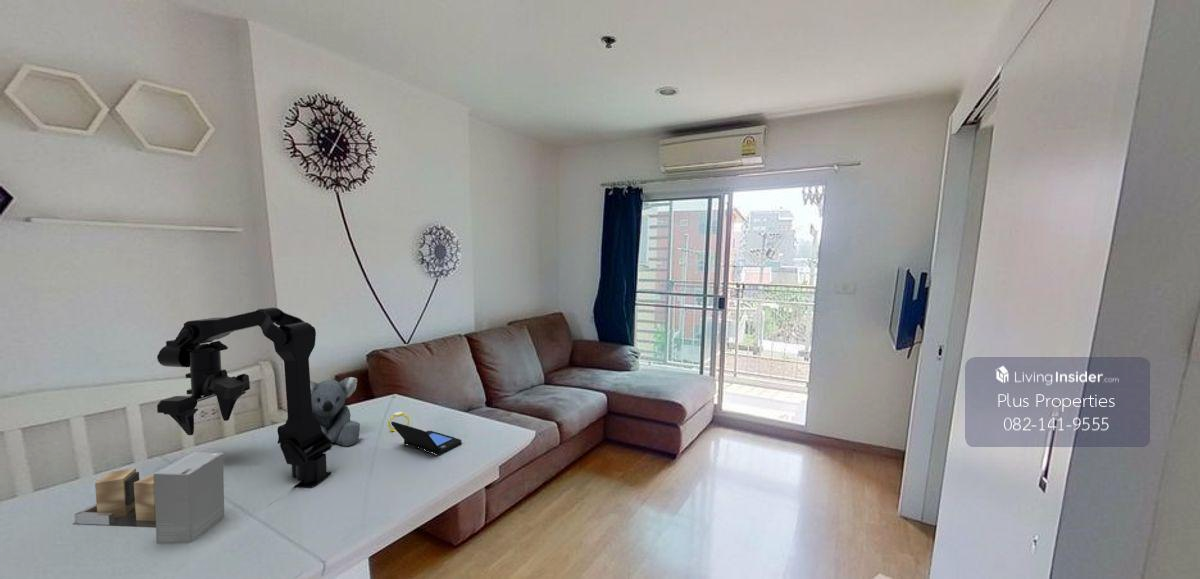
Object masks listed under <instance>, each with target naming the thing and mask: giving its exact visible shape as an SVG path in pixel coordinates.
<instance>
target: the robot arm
mask: <svg viewBox="0 0 1200 579" xmlns="http://www.w3.org/2000/svg"><path fill="white" fill-rule="evenodd" d="M254 327H259V328H260V329H261V332H262V334H263V336H264V337H265V338H267V339H268V340H270V341H271V342H273V346H274V351H275V353H276V354H277V355H278V356H279V357H280V359H281V360H283V367H284V368H283V369H284V381H285V382H284V383H285V384H284V385H285V396H286V410H287V419H286V422H284V423H283V424H281V425H279V426H278V427H277V430H276V432H277V436H278V440H277V444H279V446H280V447H279V448H280V449H281V451H282V454H283V456H284V460H285V461H286V464H287V465H291V477H292V478H293V479H296V480H297V481H300V482H297V484H295V485H294V487H295V488H296V487H298V488H314V487H316V486H318V485H319V484H320V483H321V482H323V481H324V480H326V479H327V478H328V477H330V476H331V475H332V472H331V471H327V454H326V452H328V451H331V450H332V447H333V444H334V442H332V441H331V440H330V439H329V438H328V437H327V436H326V435H325V434H324V433H323V432H322V430H321V425H320V421H319V420H318V419H317V418H316V417H315V416H314V415H313V413H312V402H311V386H310V381H311V373H310V371H311V370H310V357H311V353H312V352H313V350H314V348H315V346H316V339H317V338H316V336H317V333H316V328H315V326H312V324H310V323H309V322H306V321H304V320H302V319H301V318H299V317H297V316H294V315H291V314H289V313H286V312H284V311H282V310H281V309H280V308H276V307H267V308H258V309H256V310H253V311H249V312H245V313H240V314H236V315H231V316H228V317H209V318H201V319H194V320H188V321H186V322H184V323H183V327H182V328H181V329H180V331H179V333H178V335H177V336H176V338H175V339H172V340H166V341H165V344H166V345H165V346H163V347H162V348H161V349H160V350H159V352H158V354H157V361H158V363H159V364H160V365H161V366H163V367H172V368H189V371H190V372H189V373H185V379H190V388H189V389H187V390H186V395H175V396H171V397H168V398H165V399H162V400H160V401H159V402H158V403H157V405H156V410H157V412H156V413H158V414H163V415H169V417H171V418H172V419H173V420H174V421H175V422H176V423H177V424H178V425H179V427H180V428H181V429H182V430H183V432H184V433H185V434H186V435H187V436H193V435H194V434H195V414H196V413H197V412H198V410H199V408H196V407H197V405H198V402H201V401H205V400H207V399H210V398H214V397H216V399H217V403H218V407H219V410H220V414H221V418H222V420H223V421H226V422H228V421H229V420H230V417H231V415H232V414H233V413H232V412H233V410H234V407H235V404H236V402H237V400H239V398H241V397H242V395H246V393H247V391H249V390H251V382H250V376H249V375H248V374H247V373H241V374H238V375H237V376H229V375H228V372H227V369H222V358H221V357H222V356H221V355H222V354H221V351H226V350H228V349H229V347H228V345H226V344H224V343H223V342H221V341H220V339H223V338H225V337H227V336H230V334H231V333H234V332H236V331H241V330H247V329H251V328H254ZM189 395H190V396H189ZM310 447H312V448H310ZM308 448H310V449H309V450H307V449H308ZM305 450H307V451H305ZM303 451H305V452H303Z"/></svg>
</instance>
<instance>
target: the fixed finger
mask: <svg viewBox="0 0 1200 579" xmlns="http://www.w3.org/2000/svg"><path fill="white" fill-rule="evenodd" d="M134 495H135V510H136V520H142V521H156V516H155V494H154V474H153V473H152V474H150V475H148V476H146V477H144V478H141V479H139V481H137V482H135V483H134Z"/></svg>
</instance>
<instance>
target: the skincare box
mask: <svg viewBox="0 0 1200 579" xmlns="http://www.w3.org/2000/svg"><path fill="white" fill-rule="evenodd" d="M152 474H154V494H155V516H156V528H155V532H156V533H155V534H156V535H155V536H156V544H157V545H165V544H166V545H169V544H170V545H171V544H188V543H193V542H194V541H195V540H196V539H198V538H199V537H201V536H202V535H204V534H205V533H206V532H208V531H209V530H210V529H211V528H213V527H214V526H215V525H217V524H218V523H219V522H220V521H221V520H223V519H224V518H225V486H224V485H225V484H224V482H225V481H224V479H225V478H224V453H223V452H201V451H200V452H198V451H197V452H190V453H188V454H187V455H185V456H183V457H181V458H179V459H176V461H174V462H172V463H170V464H169V465H166V466H165V467H162V468H161V469H159V470H158V471H156V472H154V473H152Z"/></svg>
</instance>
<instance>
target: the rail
mask: <svg viewBox="0 0 1200 579" xmlns="http://www.w3.org/2000/svg"><path fill="white" fill-rule="evenodd" d="M73 517H74V523H72V525H78V526H79V525H83V526H104V527H105V526H106V527H107V526H109V527H128V528H130V527H131V528H134V527H135V528H152V529H156V521H142V520H136V510H135V507H134V508H133V509H132V510H131V511H130V512H129V513H128V514H127V515H126V516H120V517H115V518H114V515H113V513H97V503H96V504H93V505H91V506H89V507H87V508H84V509H83V510H80V511H78V512H76V513H74V516H73Z"/></svg>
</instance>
